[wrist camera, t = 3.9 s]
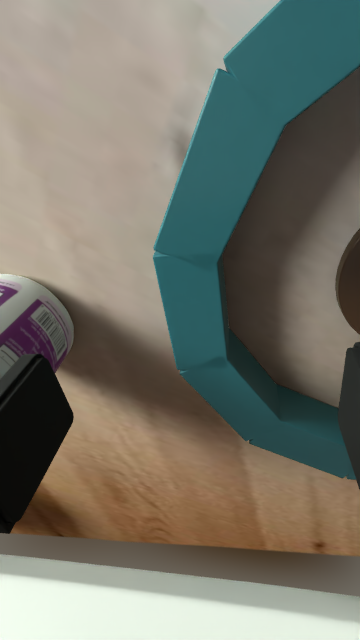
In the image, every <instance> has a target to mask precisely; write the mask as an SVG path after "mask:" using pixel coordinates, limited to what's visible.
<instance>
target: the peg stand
mask: <svg viewBox="0 0 360 640" xmlns="http://www.w3.org/2000/svg"><path fill="white" fill-rule="evenodd" d="M336 296H337V301H338V304H339V307H340V309H341V311H342V313H343V315H344V317H345V319H346V320H347V322H348V323H349V324H350V326H351V327H352V328H353V329H354V330H355V331H356V332H357V333H358V334H360V229H359V230H358V231H357V232H356V234H355V235H354V236H353V238H352V239H351V241H350V242H349V244H348V246H347V247H346V249H345V251H344V253H343V255H342V258H341V261H340V263H339V266H338V270H337V275H336Z"/></svg>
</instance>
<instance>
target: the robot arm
mask: <svg viewBox="0 0 360 640" xmlns="http://www.w3.org/2000/svg"><path fill="white" fill-rule="evenodd" d="M72 423H73V412H72V410H71V408H70V405H69V403H68V401H67V399H66V397H65V395H64V392H63V390H62V388H61V386H60V384H59V382H58V379H57V377H56V375H55V373H54V371H53V369H52V367H51V364H50V362H49V360H48V359H47V358H45V357H44V356H43V355H42V354H24V355H22V356H21V357H20V358H19V359H18V360H17V361H16V362H15V363H14V364H13V365H12V366H11V368H10V369H9V370H8V371H7V372H6V373H5V374H4V375H3V377H2V378H1V379H0V533H7V534H10V532H11V530H12V528H13V527H14V525H15V523H16V522H18V521H19V520H20V519H21V518H22V516H23V515H24V513H25V511H26V509H27V507H28V505H29V503H30V501H31V500H32V498H33V496H34V494H35V492H36V490H37V488H38V486H39V485H40V483H41V481H42V479H43V477H44V475H45V473H46V472H47V470H48V468H49V466H50V464H51V462H52V460H53V458H54V457H55V455H56V453H57V451H58V449H59V447H60V445H61V443H62V442H63V440H64V438H65V436H66V434H67V432H68V430H69V429H70V427H71V425H72ZM338 424H339V428H340V431H341V434H342V437H343V440H344V443H345V446H346V449H347V453H348V456H349V459H350V462H351V465H352V468H353V471H354V474H355V477H356V480H357V483H358V486H359V489H360V342H356V343H355V344H354V347H353V348H348V349H347V352H346V358H345V366H344V373H343V380H342V388H341V395H340V402H339V410H338ZM0 640H360V597H358V596H350V595H343V594H335V593H328V592H321V591H314V590H306V589H299V588H292V587H284V586H276V585H268V584H260V583H252V582H242V581H234V580H225V579H217V578H208V577H200V576H192V575H183V574H174V573H167V572H157V571H149V570H139V569H131V568H122V567H113V566H104V565H96V564H87V563H77V562H68V561H59V560H51V559H41V558H32V557H22V556H13V555H4V554H0Z"/></svg>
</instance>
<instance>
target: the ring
mask: <svg viewBox="0 0 360 640" xmlns="http://www.w3.org/2000/svg"><path fill="white" fill-rule="evenodd" d="M223 59H224V63H225V67H226V70H227V71H228V72H226V71H224V70H222V69H217V70H216V71H215V74H214V77H213V79H212V82H211V85H210V88H209V91H208V94H207V97H206V99H205V102H204V105H203V108H202V111H201V114H200V116H199V119H198V122H197V125H196V128H195V131H194V134H193V136H192V139H191V142H190V145H189V148H188V151H187V154H186V156H185V159H184V162H183V165H182V168H181V171H180V174H179V176H178V179H177V182H176V185H175V188H174V191H173V193H172V196H171V199H170V202H169V205H168V208H167V211H166V213H165V216H164V219H163V222H162V225H161V228H160V231H159V233H158V236H157V239H156V242H155V245H154V250H155V251H156V252H155V253H154V255H153V260H154V265H155V269H156V274H157V279H158V283H159V288H160V293H161V297H162V302H163V307H164V311H165V316H166V320H167V325H168V330H169V334H170V339H171V344H172V348H173V353H174V358H175V362H176V367H177V370H180V375H181V376H182V377H183V378H184V379H185V380H186V381H187V382H188V383H189V384H190V385H191V386H192V387H193V388H194V389H195V390H196V391H197V392H198V393H199V394H200V395H201V396H202V397H203V398H204V399H205V400H206V401H207V402H208V403H209V404H210V405H211V406H212V407H213V408H214V409H215V410H216V411H217V412H218V413H219V414H220V415H221V417H222V418H223V419H224V420H225V421H226V422H227V423H228V424H229V425H230V426H231V427H232V428H233V429H234V430H235V431H236V432H237V433H238V434H239V435H240V436H241V437H242V438H243V439H244V440H245V441H248V440H249V443H250V444H252V445H254V446H257V447H260V448H262V449H265V450H268V451H271V452H273V453H276V454H279V455H281V456H284V457H287V458H289V459H292V460H295V461H297V462H300V463H303V464H305V465H308V466H311V467H313V468H316V469H319V470H321V471H324V472H327V473H330V474H332V475H335V476H338V477H340V478H344V477H345V476H346V477H347V479H352V480H356V477H355V474H354V471H353V468H352V465H351V462H350V459H349V456H348V453H347V449H346V446H345V443H344V440H343V437H342V434H341V431H340V428H339V424H338V410H339V409H338V408H336V407H333V406H331V405H328V404H326V403H323V402H321V401H318V400H315V399H313V398H310V397H308V396H305V395H303V394H300V393H298V392H295V391H293V390H290V389H287V388H285V387H282V386H280V385H277V384H275V382H274V381H273V380H272V379H271V378H270V376H269V375H268V374H267V373H266V372H265V370H264V369H263V368H262V367H261V365H260V364H259V363H258V362H257V361H256V359H255V358H254V357H253V356H252V355H251V353H250V352H249V351H248V350H247V349H246V347H245V346H244V345H243V344H242V343H241V341H240V340H239V339H238V338H237V337H236V335H235V334H234V333H233V332H232V331H231V329H230V328H229V322H228V311H227V300H226V289H225V279H224V268H223V257H222V254H223V252H224V250H225V248H226V246H227V244H228V242H229V240H230V238H231V236H232V234H233V232H234V230H235V228H236V225H237V223H238V221H239V219H240V217H241V215H242V213H243V211H244V209H245V207H246V205H247V203H248V201H249V199H250V197H251V195H252V193H253V191H254V189H255V187H256V185H257V183H258V181H259V179H260V177H261V175H262V173H263V171H264V169H265V167H266V165H267V163H268V161H269V159H270V157H271V155H272V153H273V151H274V149H275V147H276V145H277V143H278V141H279V139H280V137H281V134H282V132H283V130H284V128H285V126H286V125H287V124H289V123H290V122H291V121H292V120H294V119H295V118H296V117H298V116H299V115H300V114H301V113H303V112H304V111H305V110H306V109H308V108H309V107H310V106H311V105H313V104H314V103H315V102H316V101H318V100H319V99H320V98H321V97H323V96H324V95H325V94H326V93H328V92H329V91H330V90H331V89H333V88H334V87H335V86H336V85H338V84H339V83H340V82H341V81H343V80H344V79H345V78H346V77H348V76H349V75H350V74H351V73H353V72H354V71H355V70H356V69H358V68H359V67H360V0H280V1H279V2H278V3H277V4H276V5H275V6H274V7H273V8H272V9H271V10H270V11H269V12H268V13H267V14H266V15H265V16H264V17H263V18H262V19H261V20H260V21H259V22H258V23H257V24H256V25H255V26H254V27H253V28H252V29H251V30H250V31H249V32H248V33H247V34H246V35H245V36H244V37H243V38H242V39H241V40H240V41H239V42H238V43H237V44H236V45H235V46H234V47H233V48H232V49H231V50H230V51H229V52H228V53H227V54H226V55H225V56H224V58H223Z"/></svg>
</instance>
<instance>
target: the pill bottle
mask: <svg viewBox="0 0 360 640" xmlns="http://www.w3.org/2000/svg"><path fill="white" fill-rule="evenodd" d="M73 331H74V326H73V323H72V320H71V318H70V315H69V313H68V311H67V310H66V308H65V307H64V306H63V304H62V303H61V302H60V301H59V300H58V299H57V298H56V297H55V296H54V295H53V294H52V293H51V292H50V291H49V290H48V289H47V288H45V287H44V286H42V285H41V284H39V283H37V282H35V281H33V280H31V279H28V278H25V277H21V276H17V275H12V274H0V379H1V378H2V377H3V375H4V374H5V373H6V372H7V371H8V370H9V369H10V368H11V366H12V365H13V364H14V363H15V362H16V361H17V360H18V359H19V358H20V357H21V356H22V355H24V354H42V355H43V356H44V357H45V358H47V359H48V360H49V362H50V364H51V367H52V369H53V371H54V373H56V371H57V370H58V368H59V367H60V365H61V363H62V362H63V360H64V359H65V357H66V356H67V354H68V353H69V351H70V349H71V347H72V344H73V340H74V333H73Z"/></svg>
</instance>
